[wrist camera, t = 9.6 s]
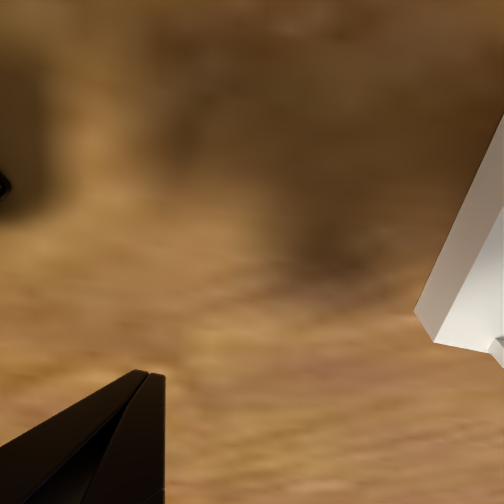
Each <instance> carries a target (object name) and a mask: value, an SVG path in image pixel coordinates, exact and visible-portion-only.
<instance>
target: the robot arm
mask: <svg viewBox="0 0 504 504" xmlns="http://www.w3.org/2000/svg"><path fill="white" fill-rule="evenodd" d="M0 185H1V186H2V189H1V188H0V201H1V200H2V199H3V198H4V197H5V196H6V195H7V194H8V193H9V192H10V191H11V185H10V183H9V181H8V180H7V179H6V178H5V177H4V176H3V175H2V174H1V173H0ZM165 389H166V378H165V376H164V375H162V374H157V373H150V374H149V373H148V372H147V371H142V370H137V369H135V370H132V371H130V372H129V373H127V374H125V375H124V376H122V377H120V378H118V379H117V380H115V381H113V382H111V383H110V384H108V385H106V386H105V387H103V388H101V389H99V390H98V391H96V392H94V393H92V394H91V395H89V396H87V397H86V398H84V399H82V400H80V401H79V402H77V403H75V404H73V405H72V406H70V407H68V408H67V409H65V410H63V411H61V412H60V413H58V414H56V415H55V416H53V417H51V418H49V419H48V420H46V421H44V422H42V423H41V424H39V425H37V426H36V427H34V428H32V429H30V430H29V431H27V432H25V433H23V434H22V435H20V436H18V437H17V438H15V439H13V440H11V441H10V442H8V443H6V444H4V445H3V446H1V447H0V504H165Z"/></svg>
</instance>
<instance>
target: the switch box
mask: <svg viewBox="0 0 504 504" xmlns="http://www.w3.org/2000/svg"><path fill="white" fill-rule="evenodd" d="M414 313H415V314H416V316H417V317H418V319H419V320H420V322H421V324H422V325H423V327H424V328H425V330H426V331H427V333H428V335H429V336H430V338H431V339H432V341H433V342H435V343H440V344H445V345H450V346H455V347H460V348H465V349H470V350H475V351H480V352H485V353H490V354H492V356H493V357H494V358H495V359H496V360H497V362H498V363H499V364H500V365H501V366H502V368H503V369H504V115H503V117H502V119H501V121H500V123H499V126H498V128H497V130H496V132H495V134H494V136H493V139H492V141H491V143H490V145H489V147H488V150H487V152H486V154H485V156H484V158H483V160H482V163H481V165H480V167H479V169H478V171H477V173H476V176H475V178H474V180H473V182H472V184H471V187H470V189H469V191H468V193H467V195H466V197H465V200H464V202H463V204H462V206H461V208H460V211H459V213H458V215H457V217H456V219H455V221H454V224H453V226H452V228H451V230H450V232H449V234H448V237H447V239H446V241H445V243H444V245H443V248H442V250H441V252H440V254H439V256H438V258H437V261H436V263H435V265H434V267H433V269H432V271H431V274H430V276H429V278H428V280H427V282H426V285H425V287H424V289H423V291H422V293H421V295H420V298H419V300H418V302H417V304H416V306H415V309H414Z"/></svg>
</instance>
